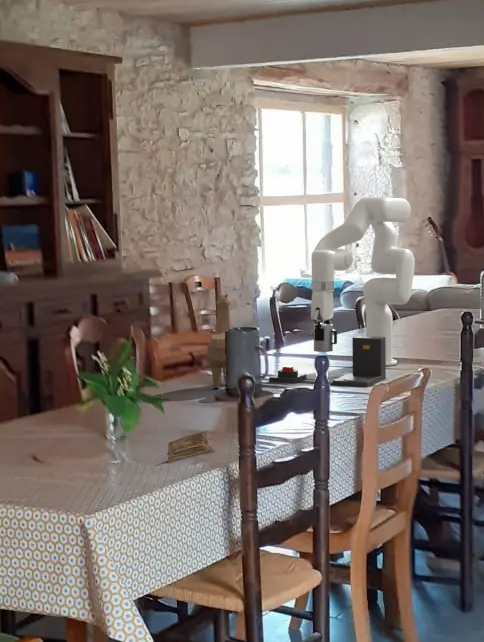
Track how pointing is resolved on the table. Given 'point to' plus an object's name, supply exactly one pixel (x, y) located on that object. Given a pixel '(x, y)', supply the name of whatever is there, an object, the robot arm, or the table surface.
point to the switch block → (287, 377)
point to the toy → (219, 340)
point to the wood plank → (188, 446)
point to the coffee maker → (366, 362)
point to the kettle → (325, 339)
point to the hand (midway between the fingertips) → (323, 338)
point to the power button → (287, 368)
